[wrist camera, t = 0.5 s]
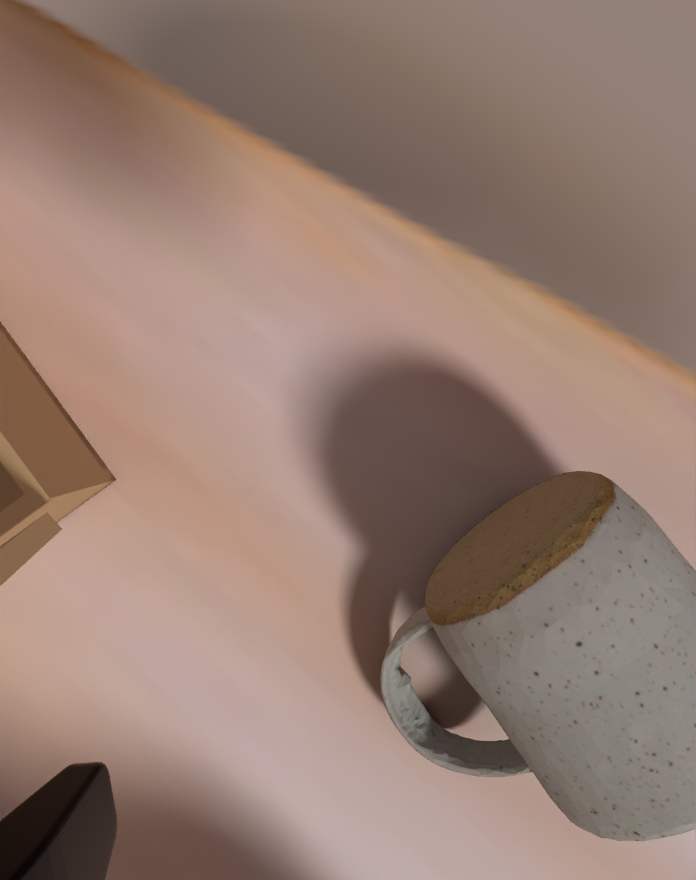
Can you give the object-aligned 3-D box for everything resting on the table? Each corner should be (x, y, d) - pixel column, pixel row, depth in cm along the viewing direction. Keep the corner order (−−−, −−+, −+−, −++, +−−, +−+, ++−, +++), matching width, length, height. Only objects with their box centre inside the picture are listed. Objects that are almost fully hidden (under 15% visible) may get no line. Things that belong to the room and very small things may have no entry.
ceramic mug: (556, 445, 22) (659, 464, 15) (697, 619, 23) (870, 727, 15) (328, 628, 23) (313, 739, 15) (469, 797, 23) (524, 989, 16)
